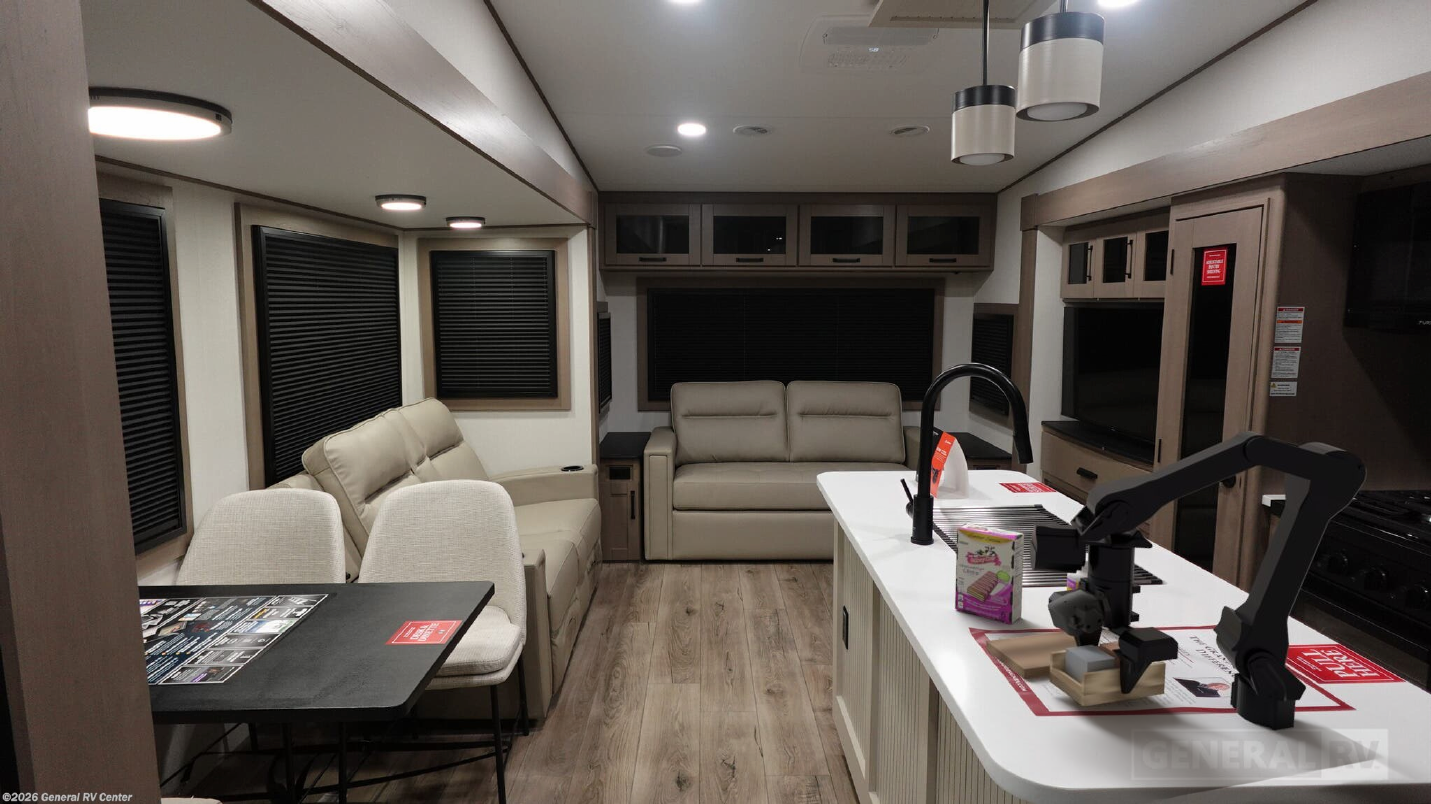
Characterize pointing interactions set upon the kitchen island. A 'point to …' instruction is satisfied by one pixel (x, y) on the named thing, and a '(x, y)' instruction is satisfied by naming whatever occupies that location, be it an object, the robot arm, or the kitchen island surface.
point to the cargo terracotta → (1108, 649)
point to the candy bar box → (989, 572)
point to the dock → (1030, 652)
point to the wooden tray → (1104, 682)
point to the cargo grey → (1086, 661)
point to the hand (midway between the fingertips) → (1106, 680)
